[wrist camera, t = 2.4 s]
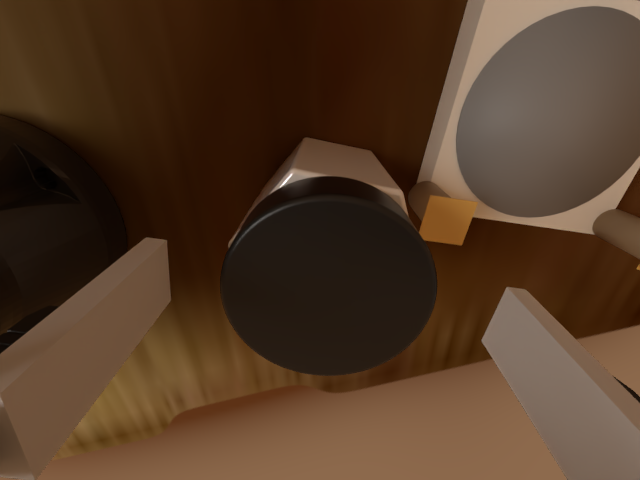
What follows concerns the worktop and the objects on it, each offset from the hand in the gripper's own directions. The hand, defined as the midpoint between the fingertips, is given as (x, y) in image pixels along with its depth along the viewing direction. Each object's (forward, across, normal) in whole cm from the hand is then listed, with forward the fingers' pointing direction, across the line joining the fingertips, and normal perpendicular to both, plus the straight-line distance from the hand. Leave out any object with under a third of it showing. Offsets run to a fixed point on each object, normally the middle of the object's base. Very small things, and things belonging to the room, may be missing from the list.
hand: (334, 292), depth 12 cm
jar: (+12, 0, 0) cm, 12 cm away
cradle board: (+11, +12, +9) cm, 18 cm away
